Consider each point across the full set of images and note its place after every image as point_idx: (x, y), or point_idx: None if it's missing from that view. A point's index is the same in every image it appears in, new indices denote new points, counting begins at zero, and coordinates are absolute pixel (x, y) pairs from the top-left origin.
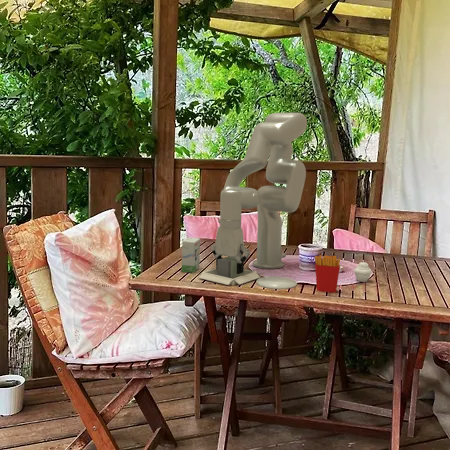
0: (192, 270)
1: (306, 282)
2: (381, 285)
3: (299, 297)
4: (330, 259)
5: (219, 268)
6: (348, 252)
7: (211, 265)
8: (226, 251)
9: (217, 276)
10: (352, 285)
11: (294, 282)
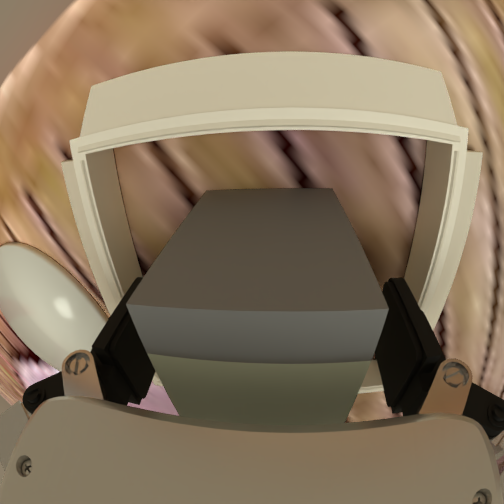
0: None
1: (45, 369)
2: (15, 391)
3: None
4: None
5: (318, 232)
6: None
7: (474, 366)
8: (188, 501)
9: (252, 109)
10: (16, 379)
11: (30, 345)
